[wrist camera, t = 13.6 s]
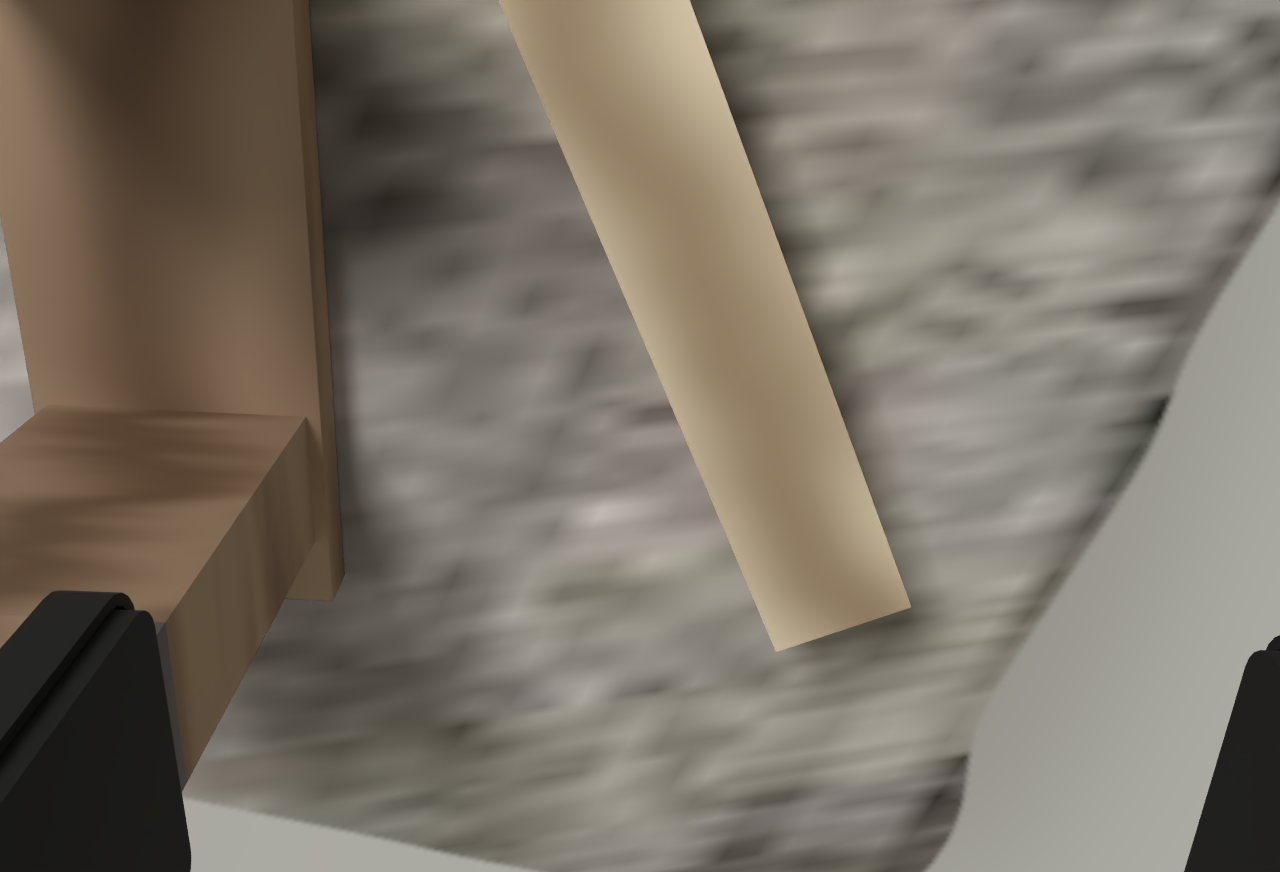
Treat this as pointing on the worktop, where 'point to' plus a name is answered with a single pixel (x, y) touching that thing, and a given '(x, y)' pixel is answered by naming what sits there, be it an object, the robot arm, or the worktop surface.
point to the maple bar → (713, 303)
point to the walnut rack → (168, 327)
